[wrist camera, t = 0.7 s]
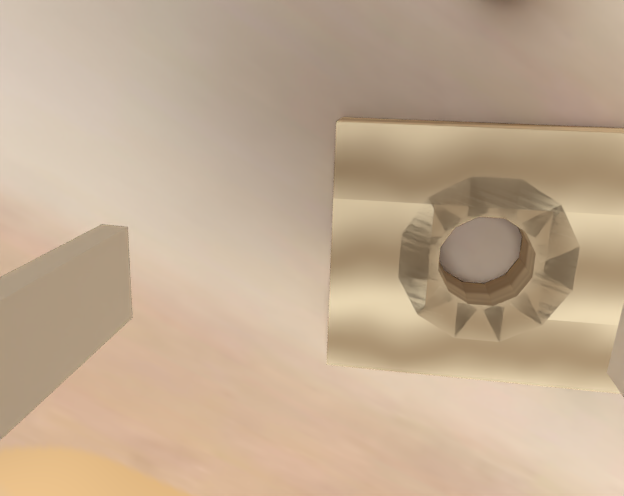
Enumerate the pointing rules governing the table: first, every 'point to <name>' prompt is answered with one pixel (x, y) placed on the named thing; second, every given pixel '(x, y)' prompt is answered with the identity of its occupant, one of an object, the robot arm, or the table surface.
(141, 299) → the table surface
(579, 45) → the table surface
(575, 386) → the board
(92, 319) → the robot arm
